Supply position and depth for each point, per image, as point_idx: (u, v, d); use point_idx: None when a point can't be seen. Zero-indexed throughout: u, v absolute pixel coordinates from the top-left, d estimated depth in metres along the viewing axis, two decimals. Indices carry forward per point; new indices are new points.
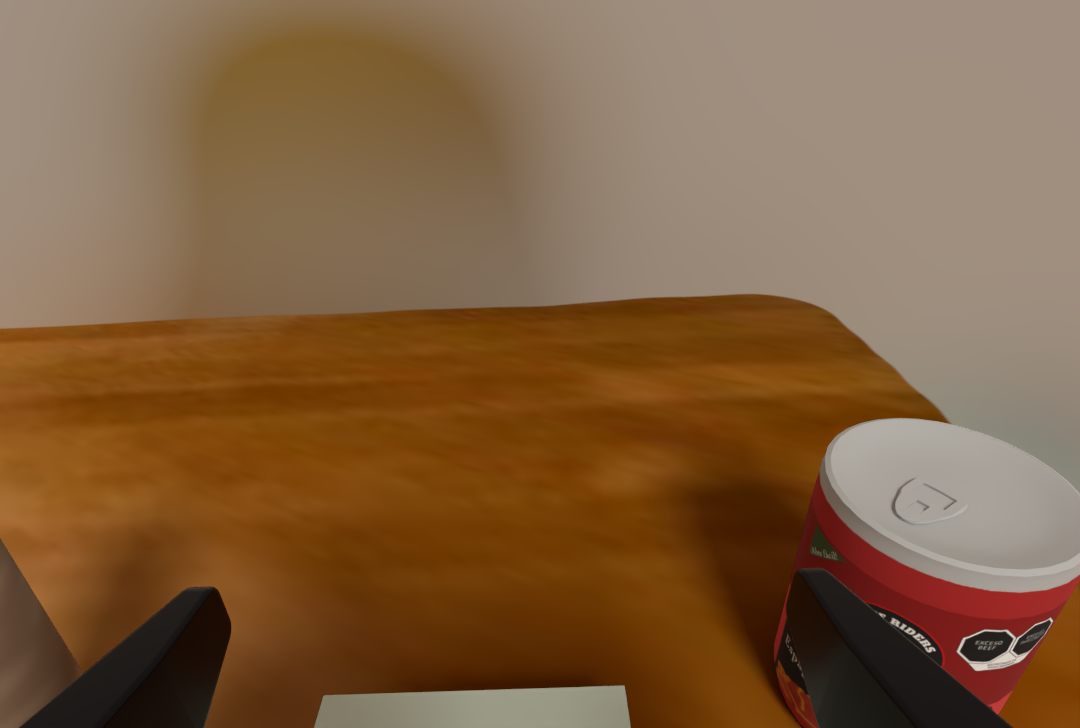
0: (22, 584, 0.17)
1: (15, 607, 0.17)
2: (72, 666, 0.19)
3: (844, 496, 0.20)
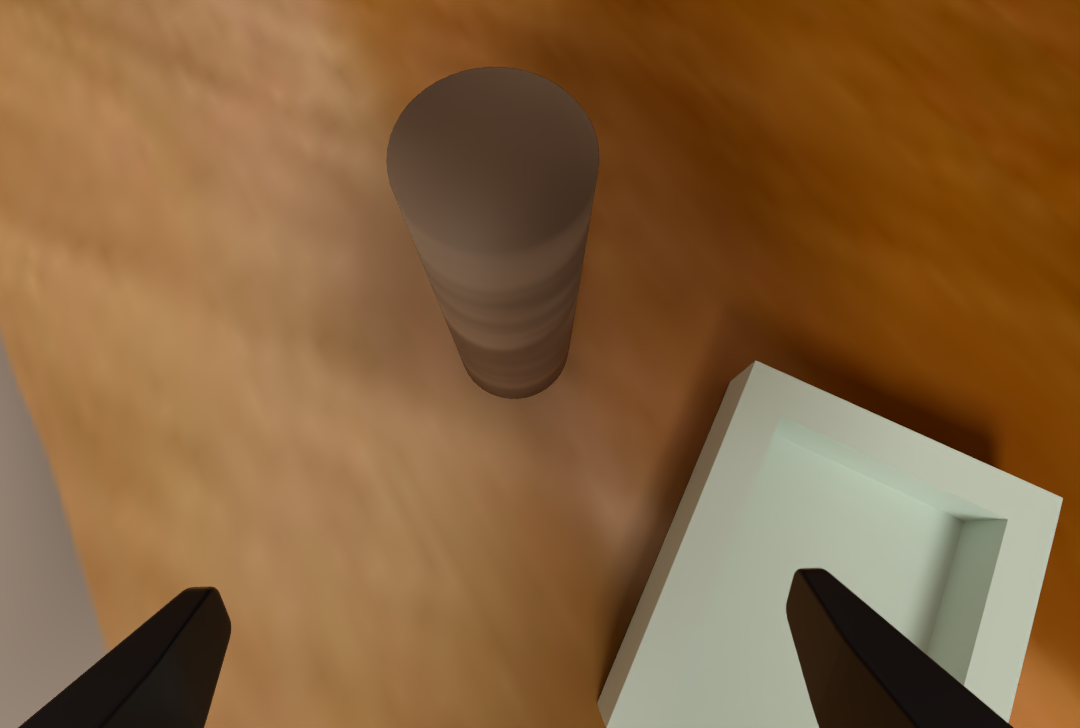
0: None
1: (586, 234, 0.15)
2: None
3: None
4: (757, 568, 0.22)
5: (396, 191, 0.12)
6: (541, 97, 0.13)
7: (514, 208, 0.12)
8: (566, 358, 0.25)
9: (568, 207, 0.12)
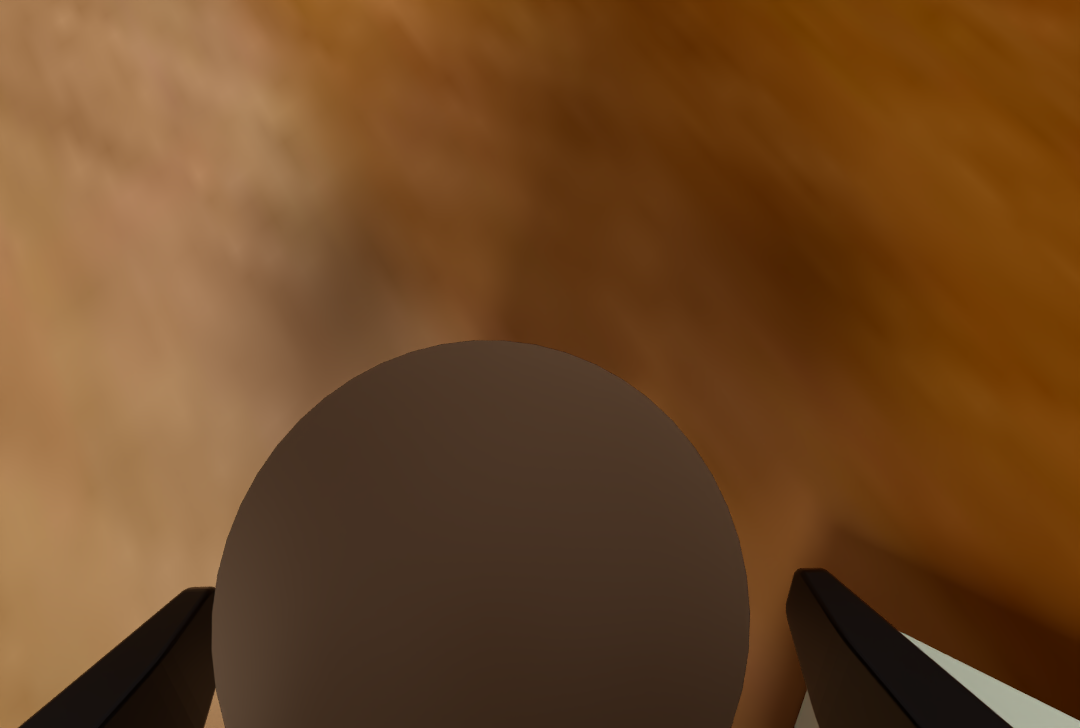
0: None
1: None
2: None
3: None
4: None
5: (231, 709, 0.05)
6: (599, 424, 0.05)
7: None
8: None
9: None
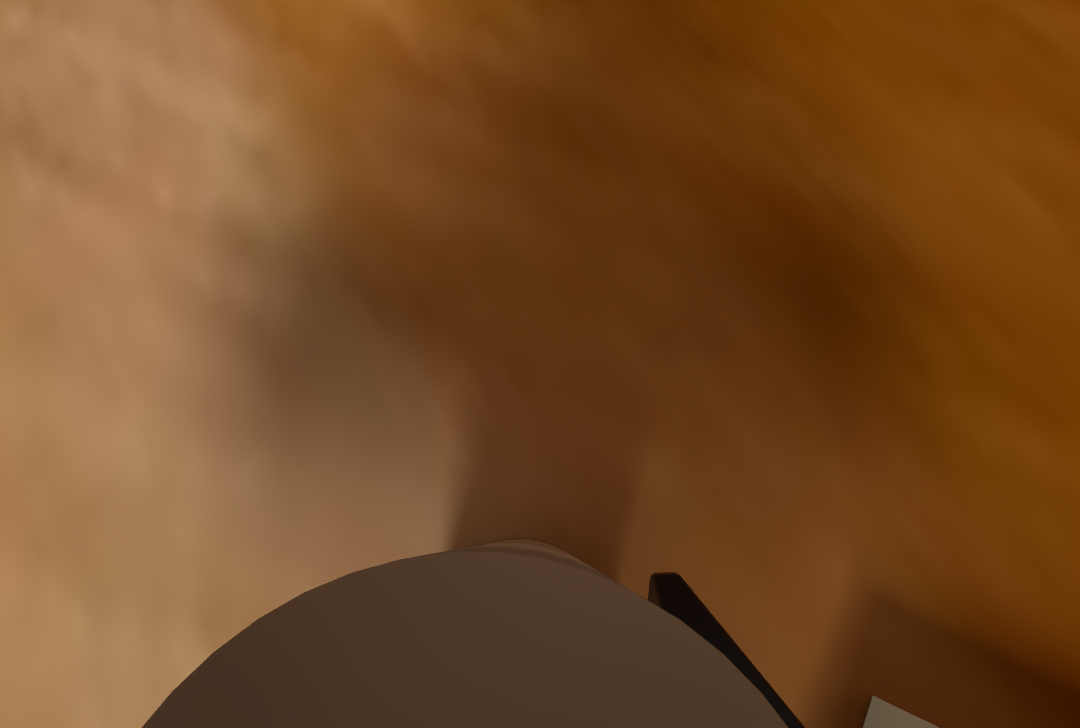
0: None
1: None
2: None
3: None
4: None
5: None
6: (647, 697, 0.03)
7: None
8: None
9: None
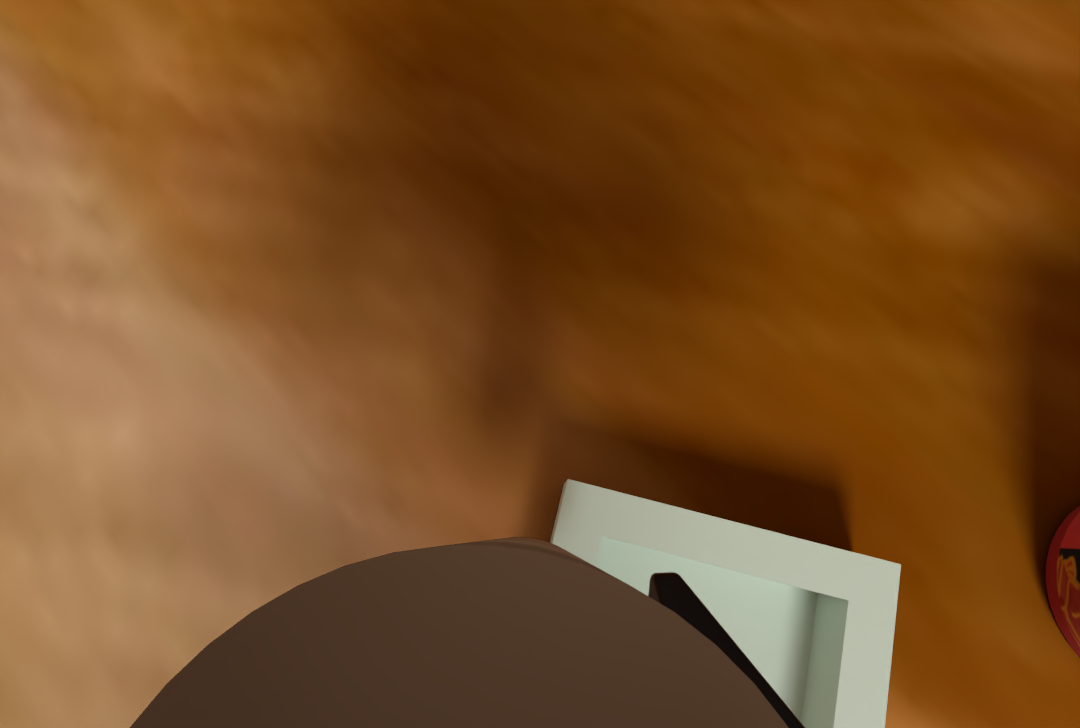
0: None
1: None
2: None
3: None
4: None
5: None
6: (639, 689, 0.03)
7: None
8: None
9: None
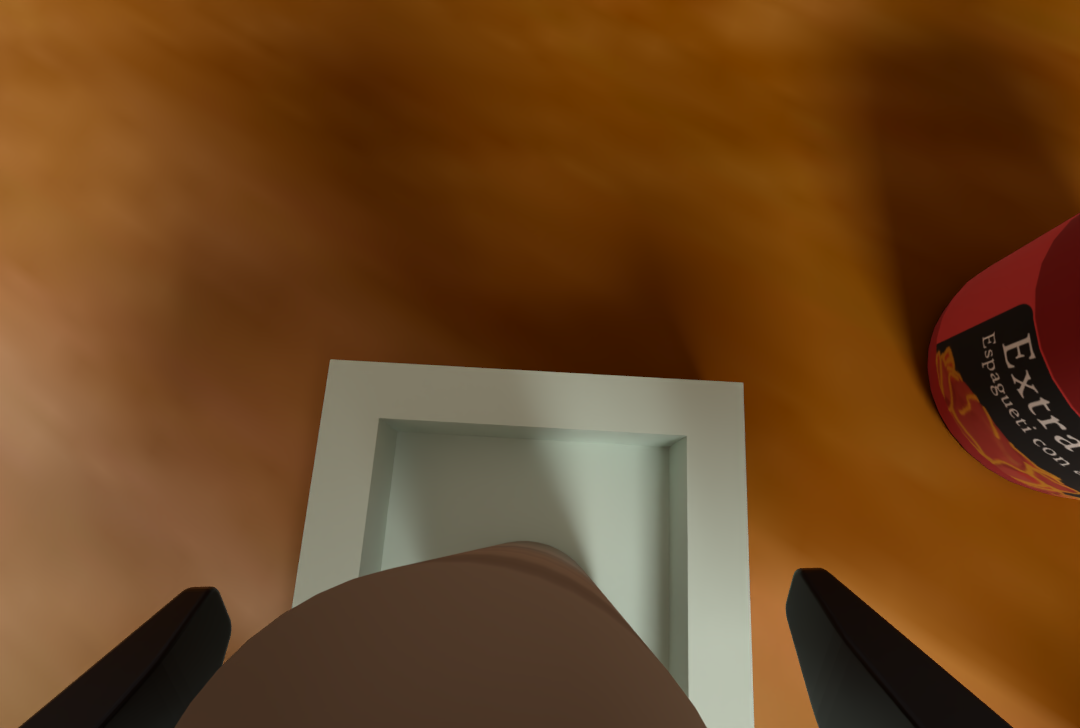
0: None
1: None
2: None
3: None
4: None
5: None
6: (579, 677, 0.04)
7: None
8: None
9: None
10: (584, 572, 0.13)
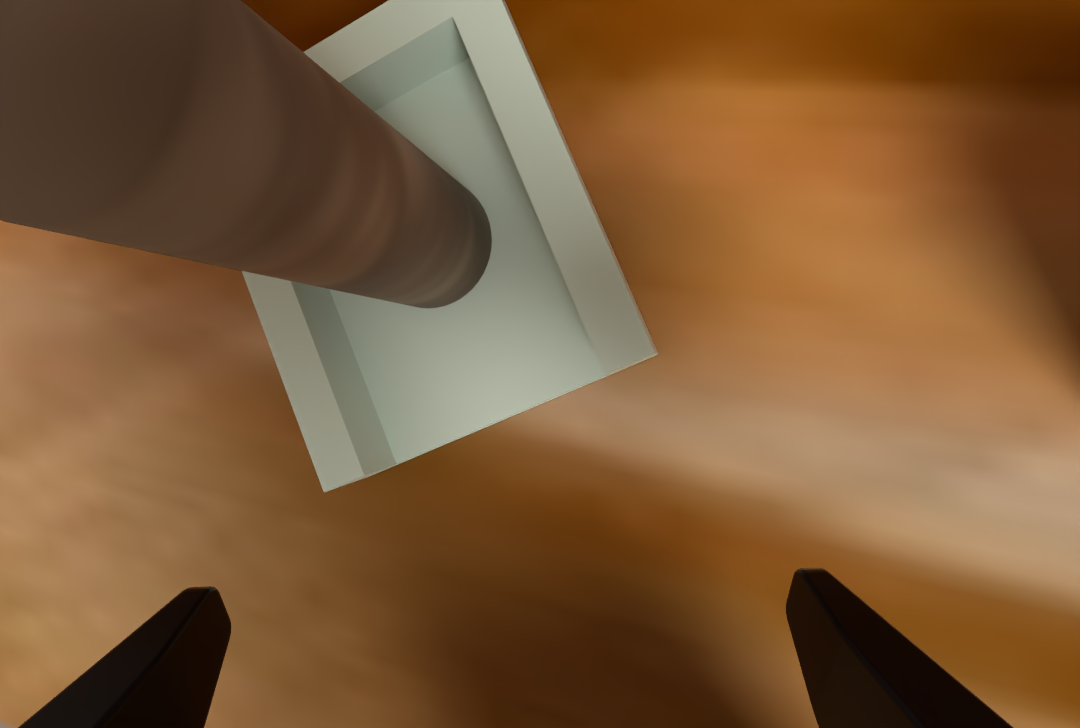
0: (278, 41, 0.10)
1: (297, 86, 0.10)
2: (384, 128, 0.13)
3: None
4: None
5: None
6: None
7: (100, 121, 0.08)
8: (487, 227, 0.20)
9: (165, 73, 0.08)
10: None
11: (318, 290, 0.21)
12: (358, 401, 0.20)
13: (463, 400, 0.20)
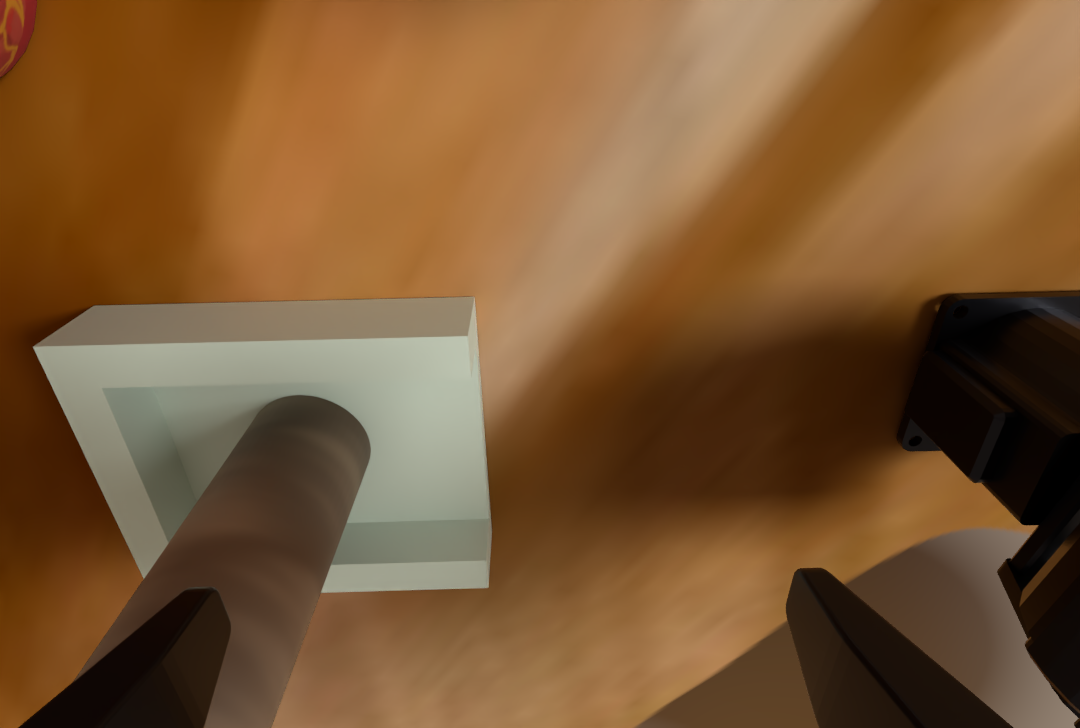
0: None
1: None
2: (199, 546, 0.16)
3: None
4: None
5: None
6: None
7: None
8: (311, 402, 0.22)
9: None
10: (202, 494, 0.19)
11: None
12: (428, 537, 0.24)
13: (456, 460, 0.24)
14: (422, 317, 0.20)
